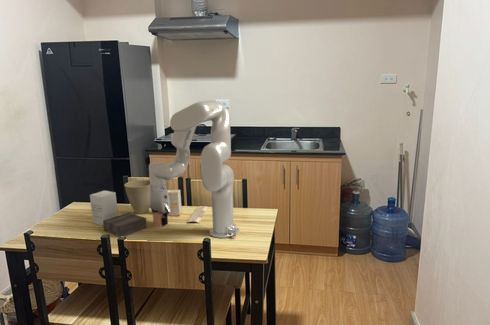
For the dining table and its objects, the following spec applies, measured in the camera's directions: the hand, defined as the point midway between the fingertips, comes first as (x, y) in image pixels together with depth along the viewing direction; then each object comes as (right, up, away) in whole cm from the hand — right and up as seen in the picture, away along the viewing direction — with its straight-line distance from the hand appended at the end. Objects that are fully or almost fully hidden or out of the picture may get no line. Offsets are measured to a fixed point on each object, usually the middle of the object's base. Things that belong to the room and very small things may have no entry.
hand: (160, 223), depth 183 cm
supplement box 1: (-29, 0, +5) cm, 30 cm away
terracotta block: (0, -1, 0) cm, 1 cm away
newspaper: (+17, +1, +12) cm, 21 cm away
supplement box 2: (+3, +2, +14) cm, 14 cm away
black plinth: (-16, -2, -5) cm, 17 cm away
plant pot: (-15, +3, +19) cm, 25 cm away
